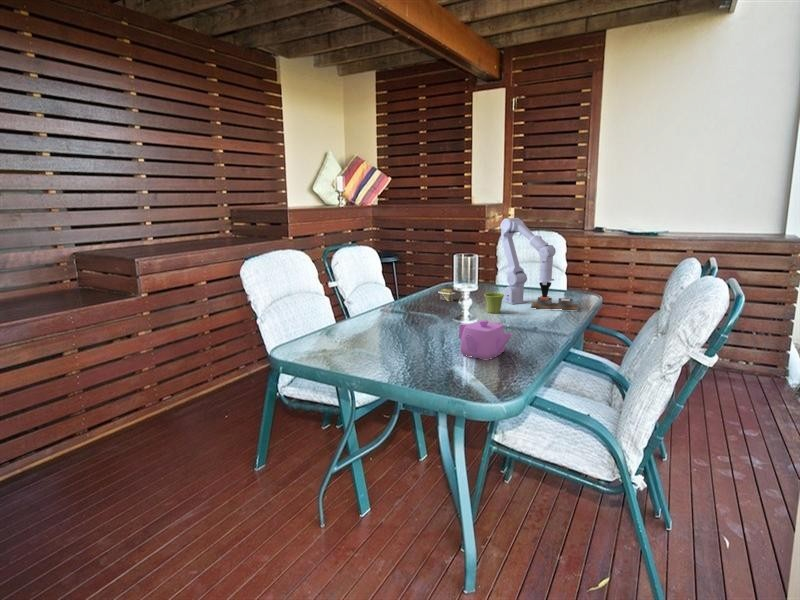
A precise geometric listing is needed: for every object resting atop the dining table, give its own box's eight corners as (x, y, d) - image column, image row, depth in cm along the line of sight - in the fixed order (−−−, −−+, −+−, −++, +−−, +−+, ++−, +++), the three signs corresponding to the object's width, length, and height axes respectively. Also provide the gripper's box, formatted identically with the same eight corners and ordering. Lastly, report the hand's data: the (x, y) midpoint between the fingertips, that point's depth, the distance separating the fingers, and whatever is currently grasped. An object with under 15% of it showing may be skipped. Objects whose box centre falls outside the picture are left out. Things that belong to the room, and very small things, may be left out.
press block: (577, 307, 253) (578, 298, 252) (577, 312, 243) (578, 302, 242) (532, 304, 260) (533, 295, 259) (530, 308, 250) (531, 300, 249)
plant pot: (507, 313, 242) (508, 295, 240) (490, 315, 238) (491, 297, 236) (496, 309, 250) (497, 292, 248) (480, 311, 247) (480, 293, 245)
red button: (548, 302, 254) (549, 296, 254) (548, 303, 250) (548, 297, 250) (540, 301, 255) (540, 295, 255) (539, 303, 252) (540, 297, 251)
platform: (454, 305, 262) (454, 292, 260) (425, 301, 272) (425, 289, 271) (465, 301, 271) (466, 289, 270) (437, 297, 281) (437, 285, 280)
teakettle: (498, 345, 191) (499, 314, 189) (513, 360, 175) (514, 325, 172) (454, 347, 189) (454, 315, 187) (465, 362, 173) (466, 327, 170)
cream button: (569, 304, 251) (570, 299, 250) (569, 306, 247) (570, 300, 247) (560, 304, 252) (561, 298, 252) (560, 306, 249) (561, 300, 248)
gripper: (553, 272, 241) (552, 300, 244) (555, 268, 255) (553, 294, 258) (538, 271, 244) (537, 299, 247) (540, 267, 257) (539, 293, 260)
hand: (544, 296), depth 252 cm, fingers closed, pressing on red button
